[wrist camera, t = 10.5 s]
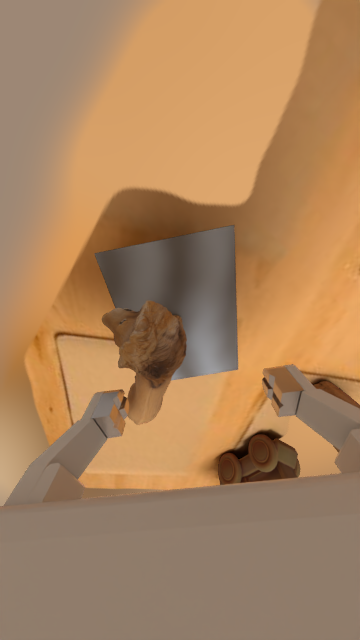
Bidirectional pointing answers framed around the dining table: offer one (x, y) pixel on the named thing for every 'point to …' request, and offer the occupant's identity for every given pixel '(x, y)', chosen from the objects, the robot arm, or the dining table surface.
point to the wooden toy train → (260, 462)
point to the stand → (184, 292)
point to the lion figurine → (147, 353)
